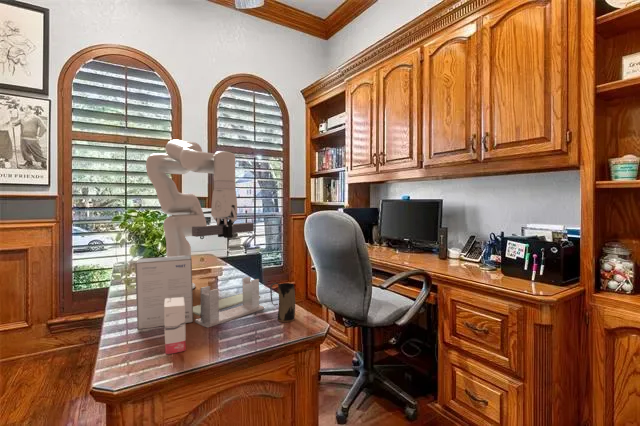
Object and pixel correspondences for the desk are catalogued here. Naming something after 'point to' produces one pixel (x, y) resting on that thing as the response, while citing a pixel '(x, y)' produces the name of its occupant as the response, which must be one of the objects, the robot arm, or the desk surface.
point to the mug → (285, 302)
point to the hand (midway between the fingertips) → (225, 236)
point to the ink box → (174, 325)
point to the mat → (223, 303)
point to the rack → (214, 317)
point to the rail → (221, 229)
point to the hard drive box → (162, 288)
